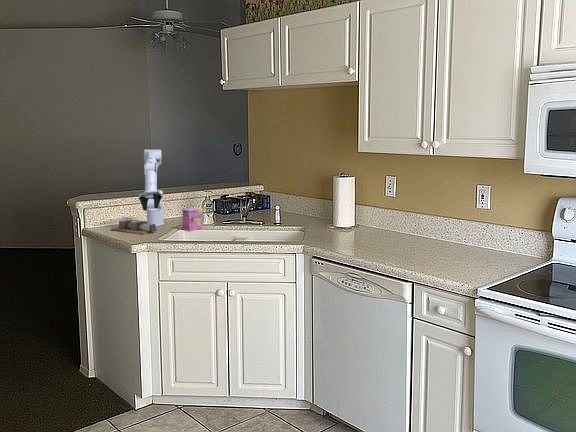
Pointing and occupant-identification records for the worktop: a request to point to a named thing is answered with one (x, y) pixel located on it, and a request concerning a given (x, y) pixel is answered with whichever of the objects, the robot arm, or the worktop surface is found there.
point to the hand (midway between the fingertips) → (150, 209)
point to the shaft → (145, 226)
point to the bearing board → (144, 231)
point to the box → (192, 219)
